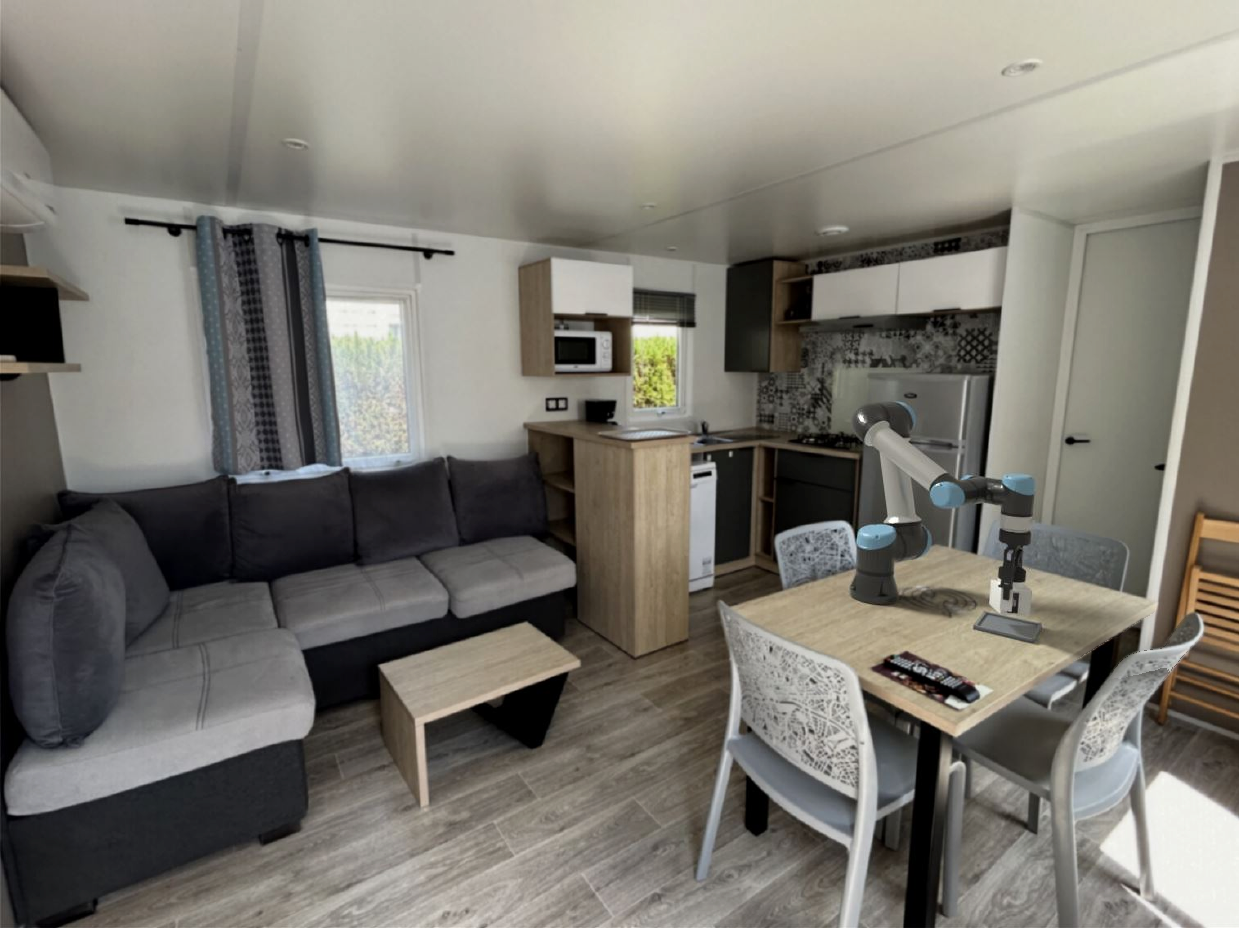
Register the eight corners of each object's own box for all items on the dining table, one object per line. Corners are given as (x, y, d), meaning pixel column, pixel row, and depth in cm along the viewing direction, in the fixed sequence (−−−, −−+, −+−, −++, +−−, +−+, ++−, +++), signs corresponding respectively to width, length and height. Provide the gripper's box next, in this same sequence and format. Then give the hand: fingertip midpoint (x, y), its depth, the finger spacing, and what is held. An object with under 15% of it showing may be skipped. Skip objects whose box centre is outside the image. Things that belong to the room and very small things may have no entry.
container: (1030, 616, 163) (1034, 571, 161) (999, 615, 165) (1003, 570, 163) (1018, 606, 171) (1021, 563, 169) (988, 604, 172) (991, 562, 170)
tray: (973, 629, 169) (973, 625, 169) (983, 614, 178) (984, 610, 178) (1033, 644, 159) (1034, 639, 159) (1041, 627, 169) (1042, 623, 169)
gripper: (1024, 540, 154) (1017, 620, 157) (1038, 523, 170) (1032, 596, 173) (990, 535, 159) (985, 613, 162) (1007, 519, 175) (1002, 590, 178)
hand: (1009, 604), depth 168 cm, fingers closed on container, 10 cm apart
